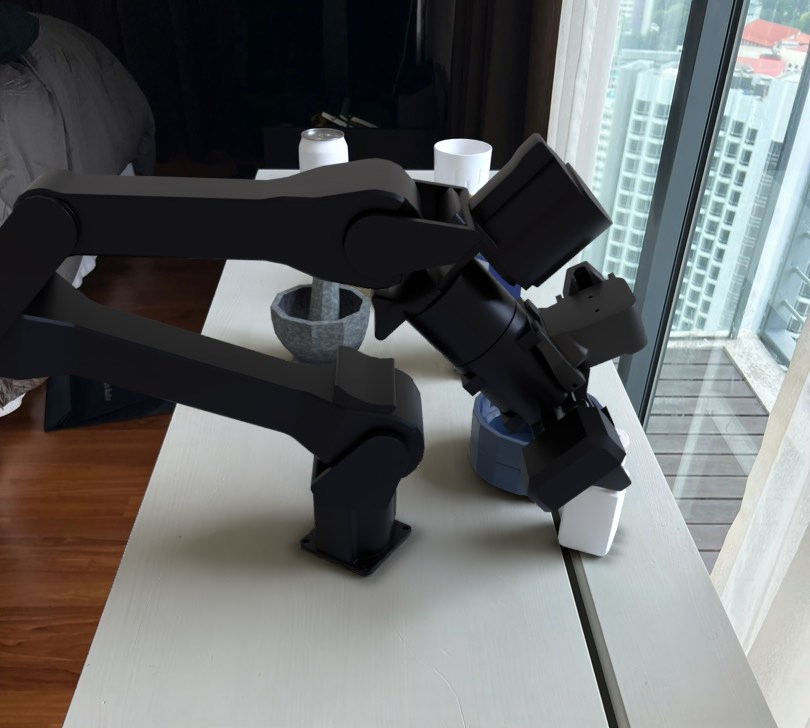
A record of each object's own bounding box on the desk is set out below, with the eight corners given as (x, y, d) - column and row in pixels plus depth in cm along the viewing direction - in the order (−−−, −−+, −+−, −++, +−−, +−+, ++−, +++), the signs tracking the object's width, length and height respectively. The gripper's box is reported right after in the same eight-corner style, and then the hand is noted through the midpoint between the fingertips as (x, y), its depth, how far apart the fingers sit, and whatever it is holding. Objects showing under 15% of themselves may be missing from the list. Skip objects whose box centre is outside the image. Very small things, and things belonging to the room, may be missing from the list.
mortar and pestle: (361, 393, 83) (359, 274, 75) (268, 386, 83) (256, 268, 76) (376, 341, 91) (376, 230, 84) (291, 335, 92) (283, 224, 84)
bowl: (564, 518, 68) (574, 462, 64) (446, 475, 72) (449, 420, 69) (613, 454, 75) (625, 400, 72) (503, 418, 80) (509, 366, 76)
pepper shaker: (567, 518, 68) (586, 417, 62) (616, 530, 67) (640, 429, 61) (554, 547, 65) (573, 444, 59) (606, 561, 64) (629, 457, 58)
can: (296, 221, 118) (290, 129, 111) (339, 216, 121) (336, 125, 113) (312, 237, 114) (307, 142, 106) (356, 231, 116) (355, 137, 108)
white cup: (424, 226, 118) (427, 151, 112) (439, 209, 124) (442, 136, 118) (479, 233, 117) (485, 157, 110) (491, 215, 123) (497, 142, 116)
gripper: (619, 310, 44) (764, 481, 51) (555, 194, 58) (676, 340, 66) (459, 439, 48) (613, 578, 56) (436, 302, 63) (562, 427, 70)
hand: (619, 470), depth 62 cm, fingers closed on pepper shaker, 4 cm apart
